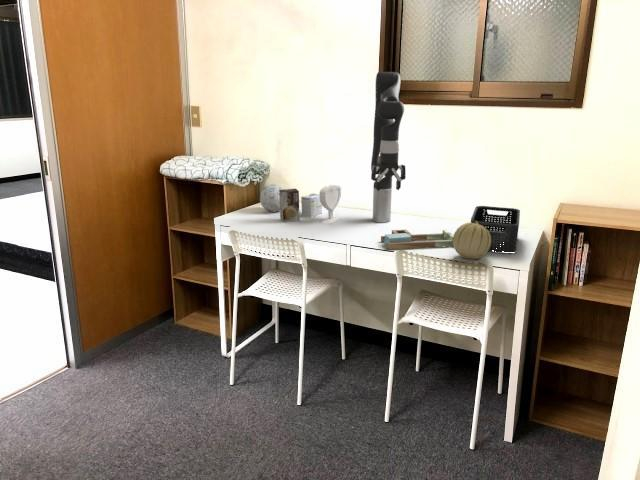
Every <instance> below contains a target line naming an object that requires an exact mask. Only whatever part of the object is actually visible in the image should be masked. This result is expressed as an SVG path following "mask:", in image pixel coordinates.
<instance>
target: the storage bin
mask: <svg viewBox="0 0 640 480" xmlns="http://www.w3.org/2000/svg"><path fill="white" fill-rule="evenodd" d="M488 211H494V212H495V211H496V212H507V214H506V215H503V214H492V213H488ZM520 213H521V210H520V209H518V208H514V207H501V206H500V207H498V206H491V205H490V206H487V205H477V206H475V208H474V209H473V213H472V215H471V218H470V223H476V221H477V222H478V224H479V225H482V226H483V227H485V228H486V229H487V230H488V231H489V233H490V236H491V245H490V248H489V250H488V251H492V250H494V252H493V253H495V251H496V252H502V251H504V252H515V251H516V252H517V245H518V243H517V242H518V235H519V226H520V215H521V214H520ZM503 242H504V243H503ZM500 244H501V245H500ZM503 244H504V245H503ZM500 246H501V247H500ZM496 248H497V249H496Z"/></svg>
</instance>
